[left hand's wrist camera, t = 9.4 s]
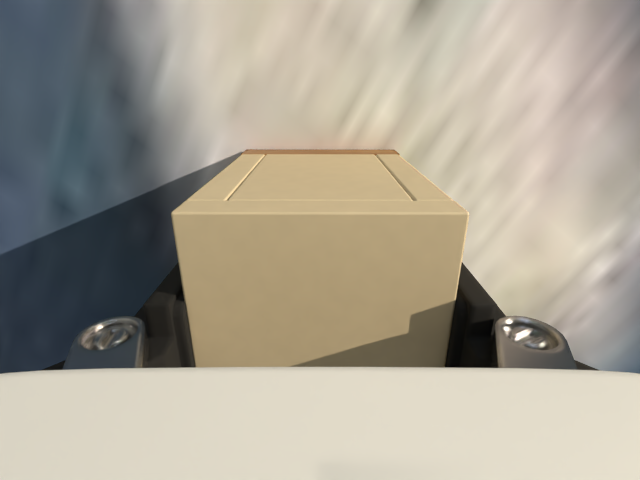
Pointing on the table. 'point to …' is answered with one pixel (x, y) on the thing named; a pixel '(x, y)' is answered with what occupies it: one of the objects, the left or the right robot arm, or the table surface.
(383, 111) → the table surface
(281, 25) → the table surface
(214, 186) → the tan long block
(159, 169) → the table surface
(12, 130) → the table surface
